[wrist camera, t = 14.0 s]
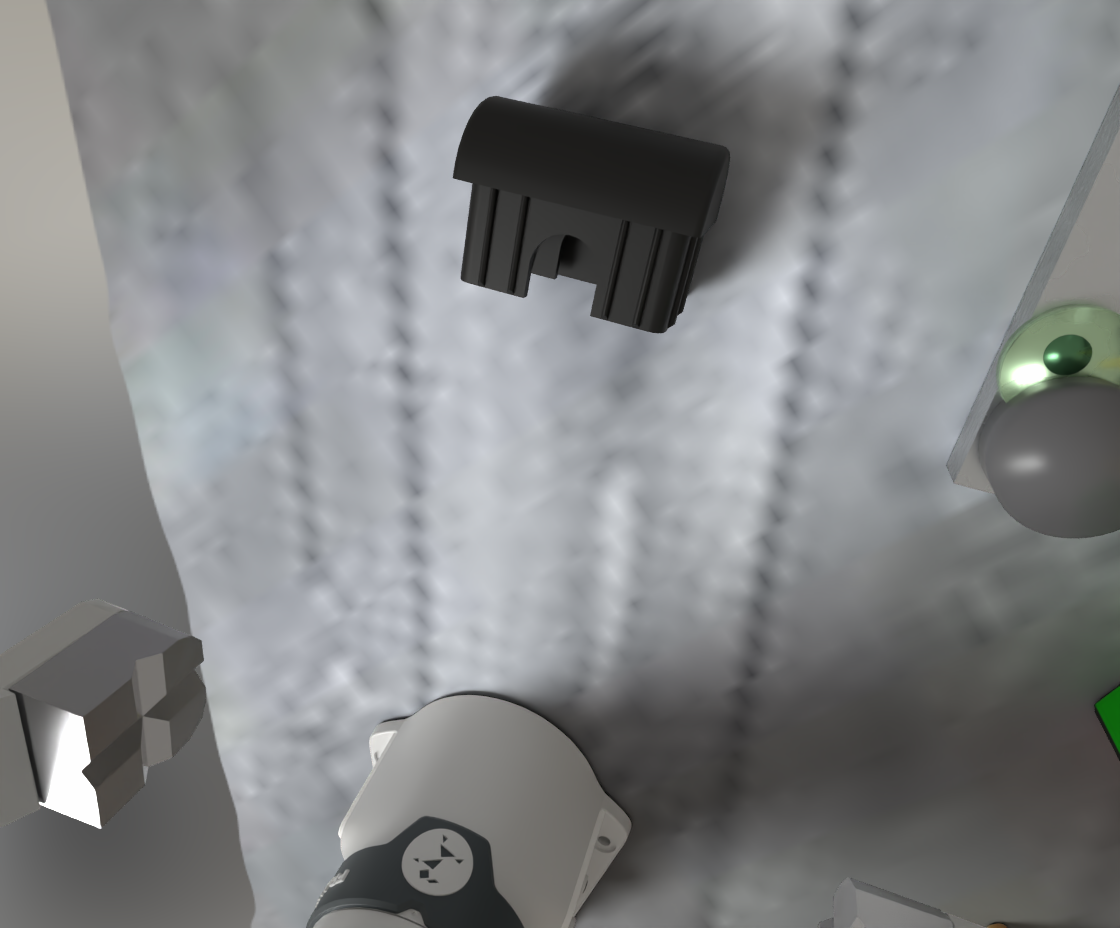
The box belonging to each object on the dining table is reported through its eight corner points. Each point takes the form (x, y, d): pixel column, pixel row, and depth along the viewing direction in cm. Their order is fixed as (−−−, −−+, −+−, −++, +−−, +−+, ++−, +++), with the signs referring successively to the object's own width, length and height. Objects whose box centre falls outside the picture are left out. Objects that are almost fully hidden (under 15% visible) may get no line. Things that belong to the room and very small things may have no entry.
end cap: (738, 145, 32) (723, 149, 26) (693, 306, 35) (672, 342, 29) (520, 97, 34) (459, 91, 28) (496, 255, 37) (438, 279, 31)
